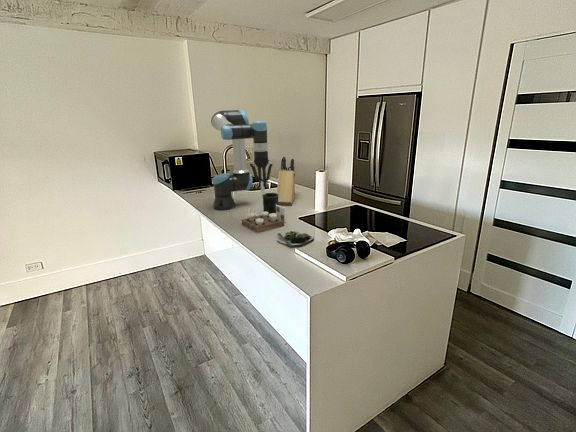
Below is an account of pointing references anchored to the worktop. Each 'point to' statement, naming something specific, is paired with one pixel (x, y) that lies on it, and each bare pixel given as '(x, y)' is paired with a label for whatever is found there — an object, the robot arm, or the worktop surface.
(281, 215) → the card
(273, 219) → the button
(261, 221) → the button
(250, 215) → the button
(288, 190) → the knife block
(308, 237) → the salad plate
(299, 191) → the worktop surface
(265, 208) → the mug
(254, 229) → the board
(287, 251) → the worktop surface
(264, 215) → the button
